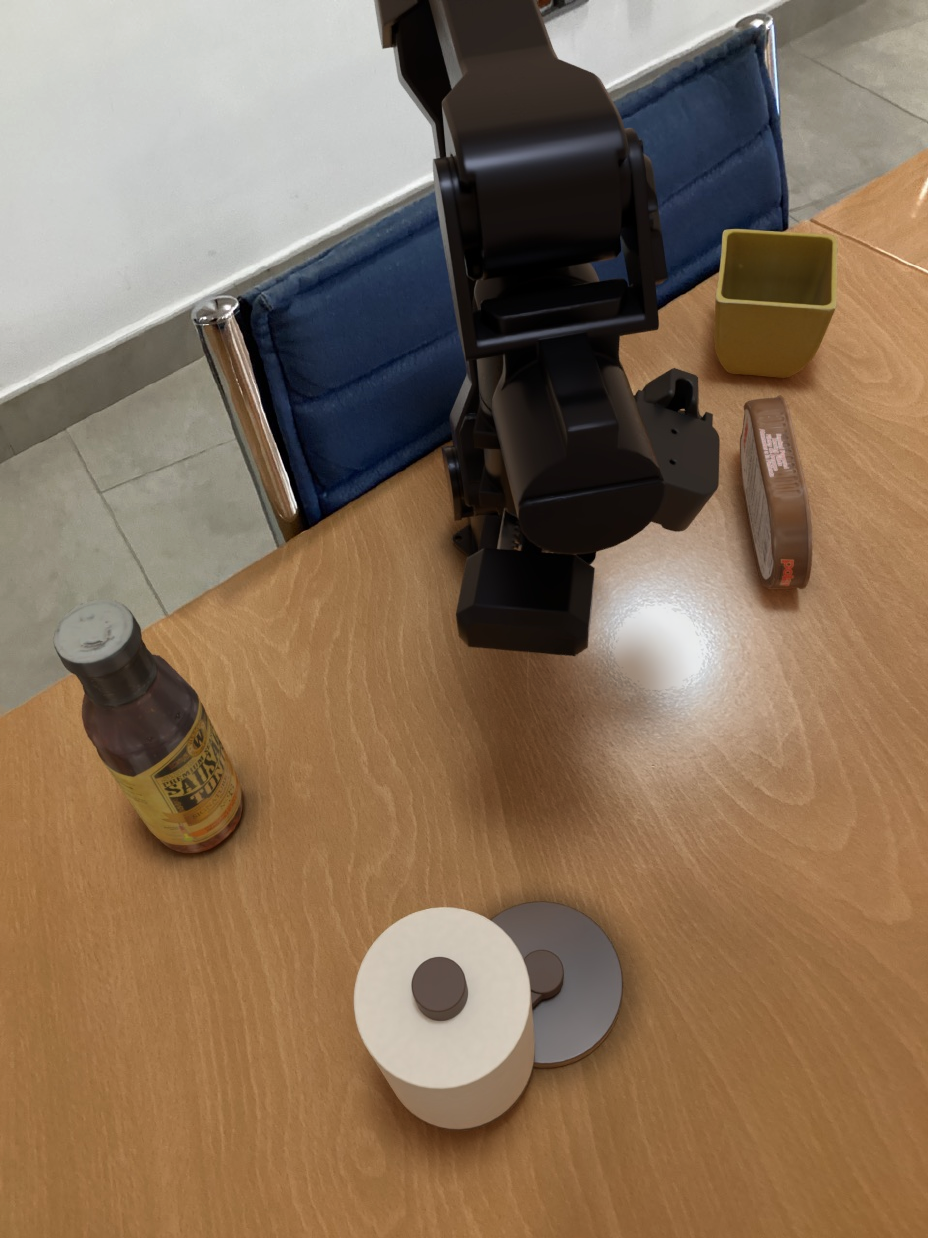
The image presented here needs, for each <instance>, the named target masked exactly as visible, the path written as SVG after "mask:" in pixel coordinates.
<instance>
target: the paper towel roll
mask: <svg viewBox="0 0 928 1238" xmlns="http://www.w3.org/2000/svg"><path fill="white" fill-rule="evenodd" d="M563 981H564V968H563V965H562V962H561V960H560V959H559V958H558V957H557V956H556V955H555V954H554V953H552V952H550V951H547V950H536V951H533V952H531V953H529V954H528V955H527V956H526V957H525V958H524V960H523V957H522V955H521V953H520V952H519V950H518V948H517V946H516V945H515V944H514V942H513V941H512V939H511V938H510V937H509V936H508V935H507V934H506V933H505V932H504V931H503V930H502V929H501V928H500V927H499V926H498V925H496V924H495V923H494V922H492V921H491V919H489V918H487V917H486V916H484V915H482V914H479V913H477V912H475V911H472V910H469V909H464V908H459V907H452V906H451V907H450V906H439V907H429V908H426V909H422V910H417V911H415V912H412V913H410V914H408V915H406V916H404V917H402V918H400V919H398V920H397V921H395V922H394V923H393V924H391V925H390V926H388V927H387V928H386V929H385V930H384V931H383V932H382V933H381V934H380V935H378V937H377V938H376V939H375V940H374V942H373V943H372V944H371V946H370V947H369V948H368V950H367V951H366V954H365V955H364V957H363V959H362V961H361V963H360V966H359V969H358V971H357V974H356V978H355V984H354V990H353V1013H354V1019H355V1023H356V1027H357V1030H358V1034H359V1036H360V1038H361V1041H362V1043H363V1045H364V1046H365V1048H366V1049H367V1051H368V1053H369V1054H370V1056H371V1057H372V1059H373V1061H374V1062H375V1064H376V1065H377V1067H378V1069H379V1071H380V1072H381V1073H382V1075H383V1077H384V1078H385V1080H386V1081H387V1083H388V1084H389V1086H390V1088H391V1090H392V1091H393V1093H394V1094H395V1096H396V1098H397V1099H398V1101H399V1102H400V1103H401V1105H403V1106H404V1108H405V1109H406V1110H407V1111H408V1112H409V1113H410V1114H411V1115H412V1116H414V1117H415V1118H417V1120H419V1121H421V1122H423V1123H424V1124H426V1125H429V1127H433V1128H435V1129H439V1130H443V1131H449V1132H467V1131H474V1130H477V1129H482V1128H484V1127H486V1126H489V1125H492V1124H493V1123H495V1122H497V1121H498V1120H500V1119H501V1118H502V1117H504V1116H505V1115H507V1113H509V1112H510V1110H511V1109H513V1107H515V1105H517V1103H518V1102H519V1100H521V1098H522V1096H523V1094H524V1093H525V1091H526V1089H527V1087H528V1085H529V1082H530V1080H531V1077H532V1074H533V1070H534V1067H533V1066H534V1059H535V1040H534V1027H533V1015H532V1008H533V1007H534V1006H535V1005H536V1004H537V1003H538V1002H539V1001H540V1000H541V999H547V998H550V997H552V996H554V995H556V994H557V993H558V992H559V990H560V989H561V987H562V985H563Z"/></svg>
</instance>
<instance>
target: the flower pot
mask: <svg viewBox="0 0 928 1238" xmlns="http://www.w3.org/2000/svg"><path fill="white" fill-rule="evenodd" d="M838 250H839V242H838V238H837V236H836V235H834V234H827V233H826V234H825V233H815V232H814V233H812V232H795V231H794V232H791V231H790V232H789V231H776V230H775V231H771V230H758V229H743V228H731V229H724V230H723V232H722V235H721V253H720V264H719V270H718V278H717V285H716V292H715V301H714V330H713V331H714V334H713V337H714V338H713V339H714V341H713V342H714V343H713V344H714V349H715V353H716V356H717V359H718V362H719V363H720V364H721V366H722V367H723V368H724V370H725V371H726V372H727V373H729V374H733V375H745V376H758V377H770V378H779V379H780V378H781V379H787V378H790V377H792V376H795V374H798V373H799V372H801V371H802V370H803V369H804V368H805V367H806V366H807V365H808V364H810V362H811V361H812V360H813V358H814V357H815V356H816V354H817V352H818V351H819V350H820V349H819V348H820V346H821V344H822V342H823V340H824V337H825V335H826V332H827V330H828V328H829V325H830V323H831V321H832V319H833V316H834V313H835V311H836V309H837V306H838V252H839V251H838Z"/></svg>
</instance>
